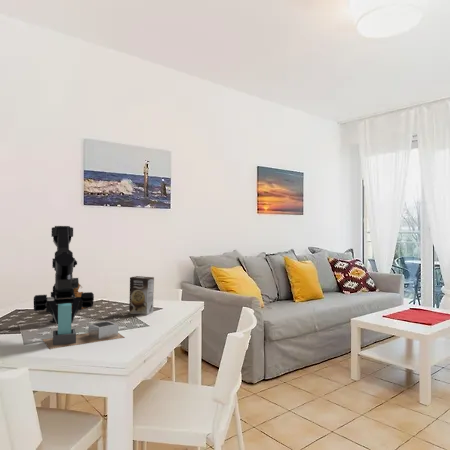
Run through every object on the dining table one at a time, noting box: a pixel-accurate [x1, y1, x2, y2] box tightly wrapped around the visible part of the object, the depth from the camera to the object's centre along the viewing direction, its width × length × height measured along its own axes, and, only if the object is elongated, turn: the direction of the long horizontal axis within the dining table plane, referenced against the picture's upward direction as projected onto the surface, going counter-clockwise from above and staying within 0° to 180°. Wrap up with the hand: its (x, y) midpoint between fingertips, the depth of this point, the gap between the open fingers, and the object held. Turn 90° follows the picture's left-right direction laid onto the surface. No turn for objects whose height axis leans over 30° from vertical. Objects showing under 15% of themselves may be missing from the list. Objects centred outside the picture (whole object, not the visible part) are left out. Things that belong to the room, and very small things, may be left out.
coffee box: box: [128, 275, 155, 316], centre depth 176 cm, size 9×6×16 cm
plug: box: [57, 303, 72, 335], centre depth 129 cm, size 4×4×12 cm
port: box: [88, 320, 119, 340], centre depth 136 cm, size 7×7×4 cm
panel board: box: [42, 332, 125, 350], centre depth 133 cm, size 24×12×1 cm, turn 124°
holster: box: [52, 328, 77, 345], centre depth 129 cm, size 7×7×3 cm
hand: (64, 323), depth 128 cm, fingers closed on plug, 4 cm apart
